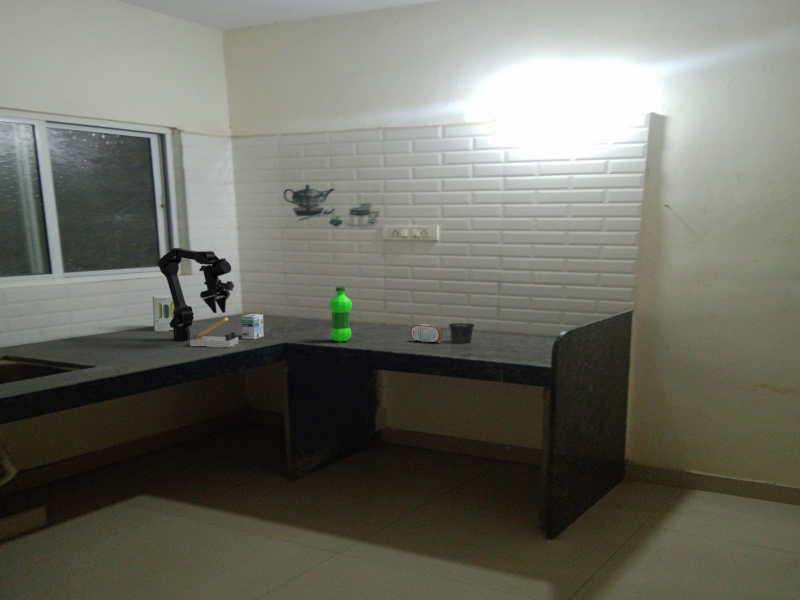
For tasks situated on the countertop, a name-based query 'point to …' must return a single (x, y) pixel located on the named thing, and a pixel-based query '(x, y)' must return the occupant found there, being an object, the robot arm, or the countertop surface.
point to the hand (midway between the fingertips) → (219, 312)
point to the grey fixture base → (214, 340)
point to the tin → (426, 332)
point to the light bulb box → (252, 326)
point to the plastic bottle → (340, 316)
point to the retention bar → (212, 327)
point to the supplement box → (162, 312)
